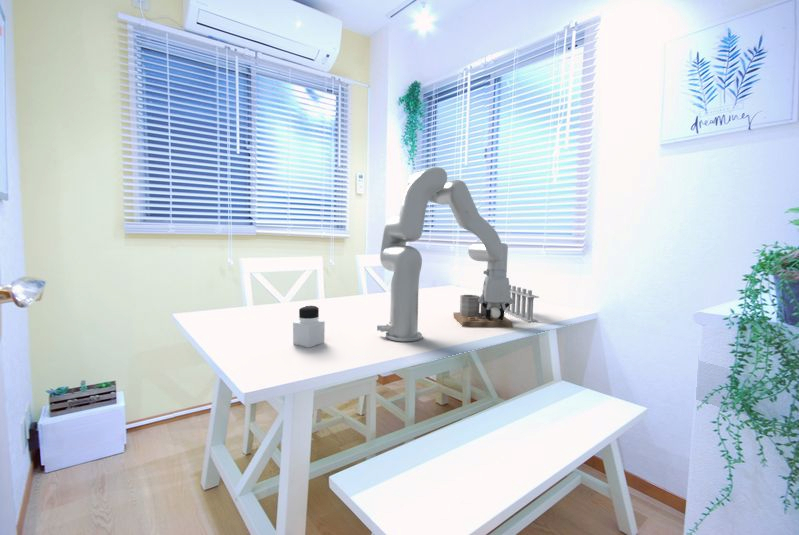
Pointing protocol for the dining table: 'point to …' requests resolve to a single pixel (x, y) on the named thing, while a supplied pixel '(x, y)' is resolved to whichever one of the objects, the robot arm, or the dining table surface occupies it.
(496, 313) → the ball cream
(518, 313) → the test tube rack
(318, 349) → the dining table surface
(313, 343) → the medicine bottle
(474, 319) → the stand
